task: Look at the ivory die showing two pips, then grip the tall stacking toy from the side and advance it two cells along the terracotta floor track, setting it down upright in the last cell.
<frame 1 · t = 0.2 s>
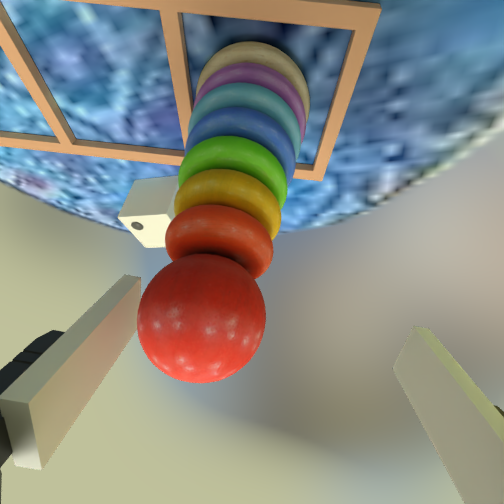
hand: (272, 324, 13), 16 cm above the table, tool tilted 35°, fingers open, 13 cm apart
stacking toy: (253, 99, 20), resting in track
die: (168, 194, 30), on the table
track: (110, 86, 20), on the table
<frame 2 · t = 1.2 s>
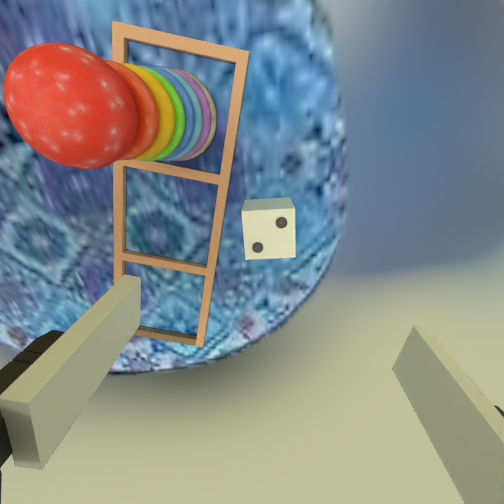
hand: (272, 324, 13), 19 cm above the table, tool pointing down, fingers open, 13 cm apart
stacking toy: (178, 118, 28), resting in track
die: (268, 220, 31), on the table
track: (169, 218, 32), on the table
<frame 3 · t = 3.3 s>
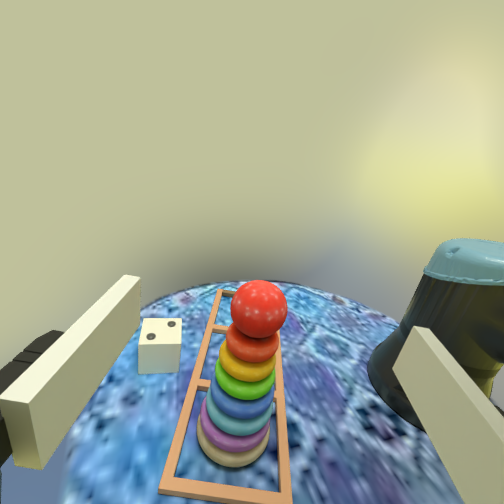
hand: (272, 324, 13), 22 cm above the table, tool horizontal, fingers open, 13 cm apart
stacking toy: (232, 432, 31), resting in track
die: (160, 359, 38), on the table
track: (240, 360, 40), on the table
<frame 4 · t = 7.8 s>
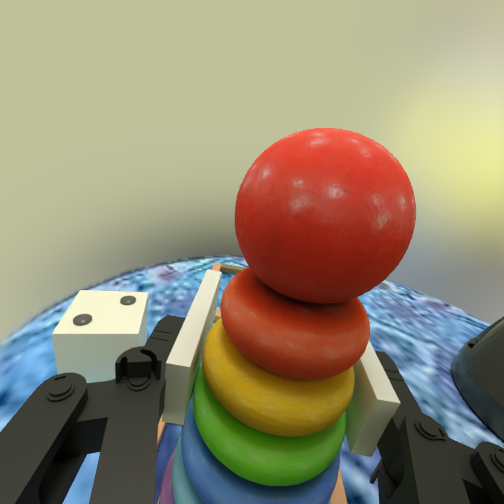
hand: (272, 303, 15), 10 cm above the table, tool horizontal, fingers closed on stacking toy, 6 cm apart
die: (108, 362, 22), on the table
track: (247, 365, 24), on the table
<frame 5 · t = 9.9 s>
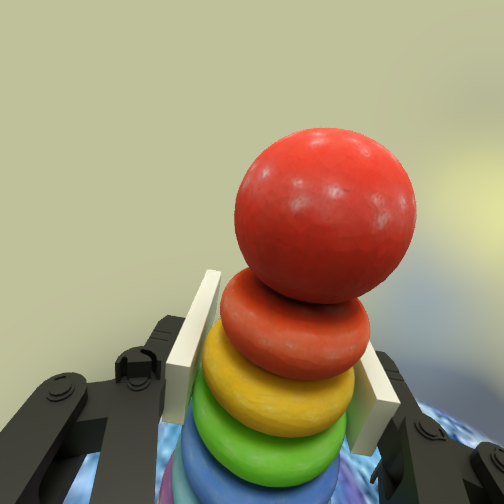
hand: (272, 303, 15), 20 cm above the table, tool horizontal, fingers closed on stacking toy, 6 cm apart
when the fingers open (11 cm above the table, at t = 12.4 s): stacking toy drops 1 cm, resting in track.
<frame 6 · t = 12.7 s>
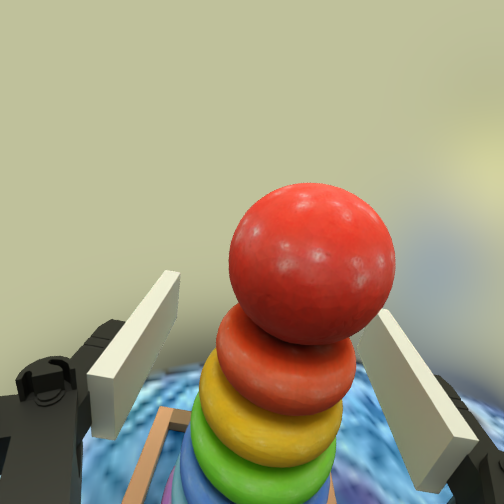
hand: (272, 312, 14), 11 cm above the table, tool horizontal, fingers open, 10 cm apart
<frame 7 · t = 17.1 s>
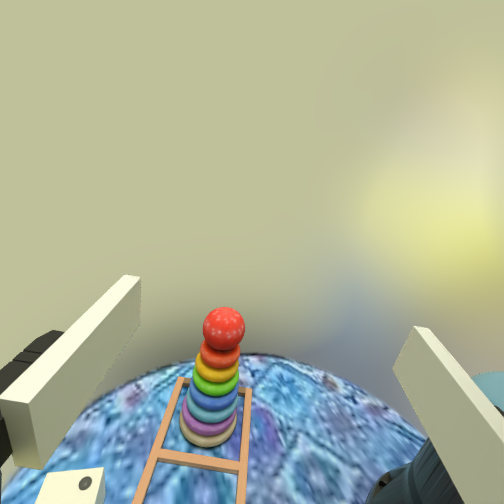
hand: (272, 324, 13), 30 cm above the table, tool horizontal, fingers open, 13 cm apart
stacking toy: (207, 422, 40), resting in track
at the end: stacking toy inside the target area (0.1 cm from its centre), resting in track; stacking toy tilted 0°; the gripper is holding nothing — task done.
